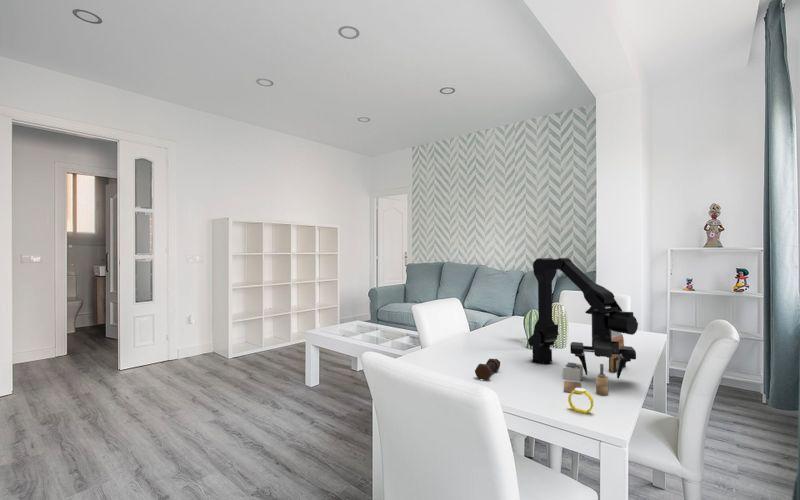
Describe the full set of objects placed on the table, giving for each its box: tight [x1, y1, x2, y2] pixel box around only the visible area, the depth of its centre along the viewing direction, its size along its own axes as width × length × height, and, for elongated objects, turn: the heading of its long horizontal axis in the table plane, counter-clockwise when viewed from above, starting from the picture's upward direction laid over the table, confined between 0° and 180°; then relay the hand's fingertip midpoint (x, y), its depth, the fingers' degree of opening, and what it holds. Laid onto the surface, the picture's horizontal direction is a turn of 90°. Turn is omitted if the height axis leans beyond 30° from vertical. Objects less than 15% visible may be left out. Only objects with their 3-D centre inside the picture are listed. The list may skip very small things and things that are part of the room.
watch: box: [567, 387, 594, 414], centre depth 103 cm, size 6×3×6 cm, turn 51°
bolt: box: [474, 358, 501, 381], centre depth 134 cm, size 6×5×15 cm
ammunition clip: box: [608, 333, 627, 374], centre depth 137 cm, size 11×2×12 cm, turn 131°
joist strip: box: [563, 380, 583, 395], centre depth 127 cm, size 5×25×1 cm, turn 156°
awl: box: [595, 363, 609, 397], centre depth 115 cm, size 3×3×9 cm
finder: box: [562, 361, 584, 382], centre depth 130 cm, size 5×7×4 cm
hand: (601, 376), depth 126 cm, fingers open, 9 cm apart
